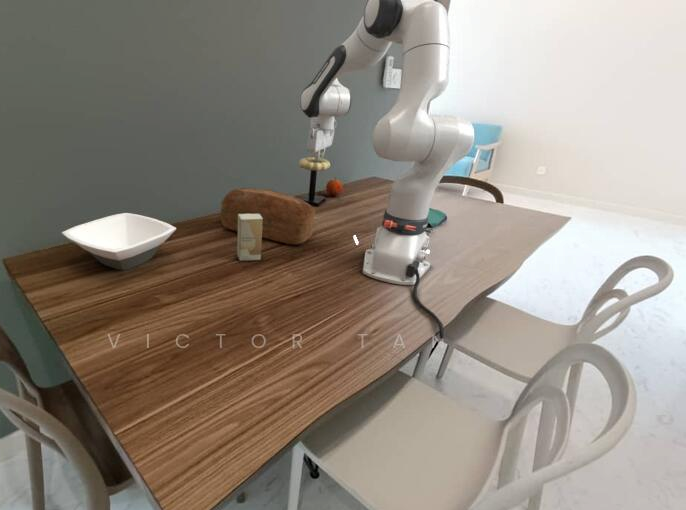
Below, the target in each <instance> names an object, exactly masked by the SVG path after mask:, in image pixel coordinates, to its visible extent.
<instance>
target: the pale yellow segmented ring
mask: <svg viewBox="0 0 686 510" xmlns="http://www.w3.org/2000/svg"><path fill="white" fill-rule="evenodd" d="M313 162H315V161H314V157H311V156H310V157H308V156H307V157H302V158H300V159H299V160H298V165H299V167H300V168H302V169H304V170H307V171H311V170H315V171H317V172H318V171H319V172H321V171H326V170H328V169H330V167H331V162H330V161H329V160H328V159H325V158H323V159H322V158H320V161H319V162H317V163H313Z"/></svg>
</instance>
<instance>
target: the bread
mask: <svg viewBox="0 0 686 510" xmlns="http://www.w3.org/2000/svg"><path fill="white" fill-rule="evenodd" d="M220 204H221V208H220V218H221V224H222V226H223V227H224V228H225V229H227V230H230V231H233V232H238V214H260V215H261V216H262V218H263V222H262V239H268V240H272V241H276V242H280V243H282V244H286V245H296V246H297V245H302V244H303V243H305V242H306V241H308V240H309V239H310V238H311V237H312V236H313V231H314V222H315V221H314V218H315V215H316V211H315V208H314V206H311V205H310V204H308V203H307V202H305V201H303V200H301V199H298V197H296V196H292V195H289V194H286V193H283V192H279V191H275V190H273V189H272V190H271V189H264V188H263V189H262V188H247V187H241V188H236V189H232V190H230V191H229V192H228V193H227V194H225V196H224V197H223V199H222V200H221V203H220Z"/></svg>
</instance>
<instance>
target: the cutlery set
mask: <svg viewBox="0 0 686 510" xmlns="http://www.w3.org/2000/svg"><path fill="white" fill-rule="evenodd" d="M428 217H429V219H428V225H429V224H430V226H431V227H432V228H429V227H428V228H426V230H425V232H426V235H427V236H428V237H429V234H431V232H433V231H434V229H433V228H435V227H437V226H439V224H442V223H445V222H446V221H447V220H448V216H447V213H445V212H443V211H441V210H440V209H434V208H431V207H430V208H429V212H428Z"/></svg>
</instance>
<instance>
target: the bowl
mask: <svg viewBox="0 0 686 510" xmlns="http://www.w3.org/2000/svg"><path fill="white" fill-rule="evenodd" d="M176 230H177V227H175V226H173V225H172V224H170V223H168V222H165V221H162V220H159V219H157V218H153V217H149V216H147V215H141V214H138V213H137V214H135V213H130V212H122V213H117V214H112V215H108V216H104V217H102V218H97V219H94V220H91V221H88V222H85V223H81V224H78V225H74V226H73V227H71V228H67V229H66V230H64V231H61V234H62V235H63V236H64V237H66V238H67V239H68V240H69V241H71V242H72V243H74V244H76V245H77V246H79V247H80V248H81V249H83V250H84V251H86V252H88V253H89V254H90V255H91V256H92V257H94V258H95V259H96V260H97V261H98V262H100V263H101V264H102V265H104V266H106V267H109V268H112V269H115V270H120V271H126V270H130V269H132V268H135V267H138V266H140V265H142V264H144V263H146V262H148V261H149V260H151V259H152V258H154V256H155V255H156V253H157V252H158V250H159V249H160V248H161V246H162V245H163V243H165V242H166V241H167V240H168V239H169V238H170V237H171V235H172V234H173V233H174V232H175V231H176Z"/></svg>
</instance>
